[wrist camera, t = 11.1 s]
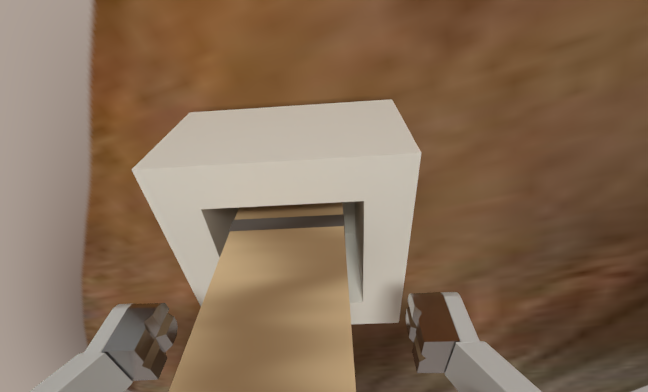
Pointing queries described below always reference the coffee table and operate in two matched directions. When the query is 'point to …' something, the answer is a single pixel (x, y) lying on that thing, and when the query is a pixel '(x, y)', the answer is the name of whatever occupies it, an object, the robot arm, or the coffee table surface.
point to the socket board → (291, 187)
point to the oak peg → (275, 307)
